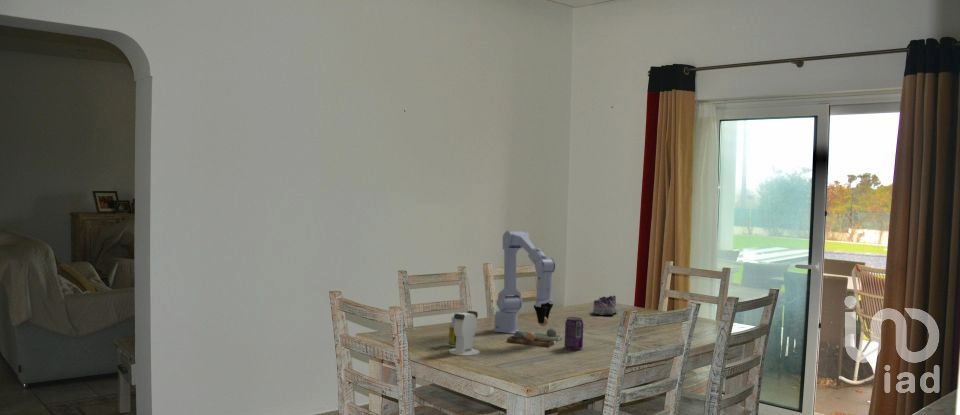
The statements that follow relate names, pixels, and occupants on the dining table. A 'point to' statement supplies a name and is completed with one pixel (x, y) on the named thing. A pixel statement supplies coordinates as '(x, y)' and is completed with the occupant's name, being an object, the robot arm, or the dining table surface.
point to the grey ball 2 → (551, 333)
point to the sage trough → (545, 336)
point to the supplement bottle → (452, 334)
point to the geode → (605, 306)
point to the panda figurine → (465, 333)
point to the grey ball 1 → (518, 335)
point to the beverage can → (574, 333)
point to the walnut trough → (536, 342)
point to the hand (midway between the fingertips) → (542, 322)
